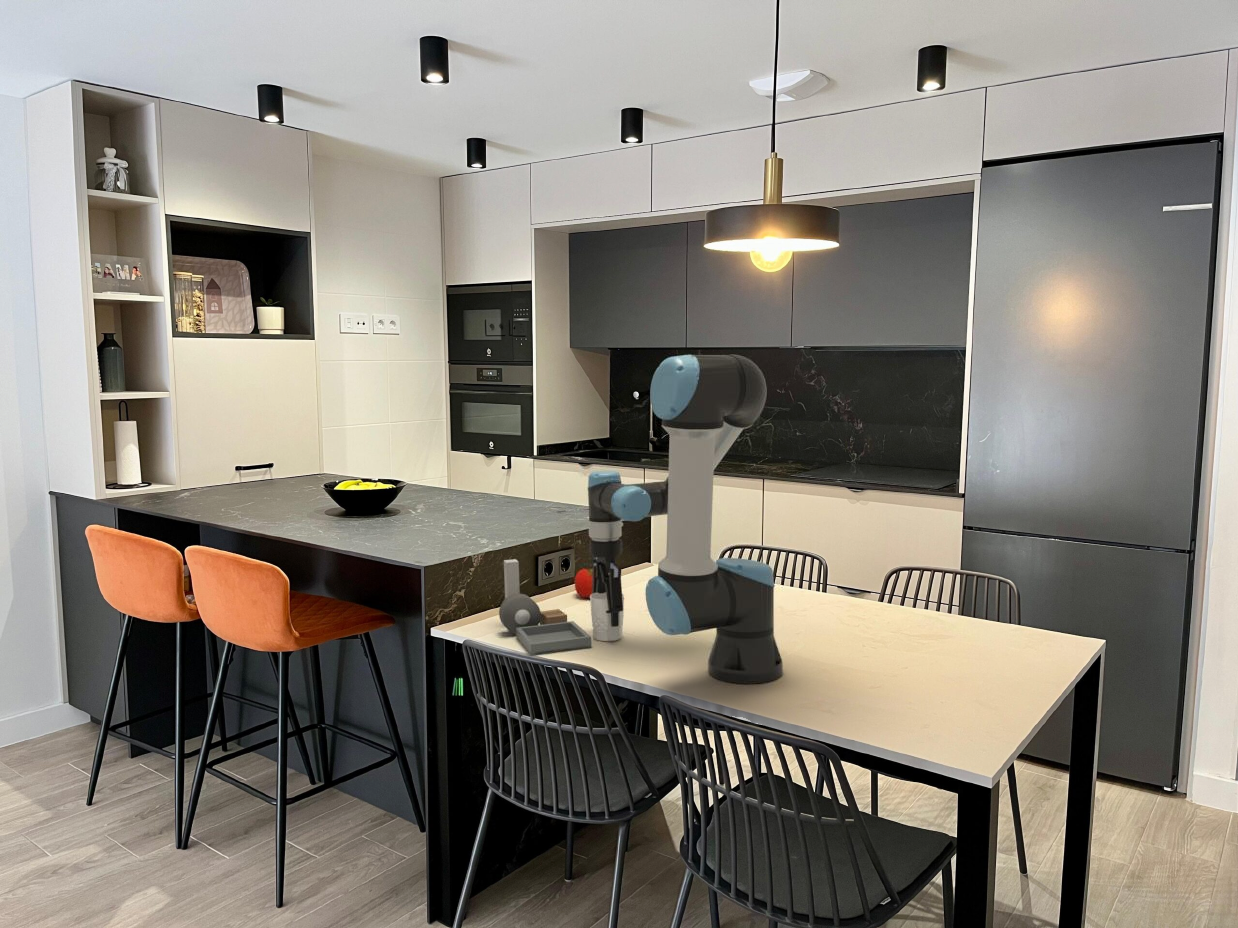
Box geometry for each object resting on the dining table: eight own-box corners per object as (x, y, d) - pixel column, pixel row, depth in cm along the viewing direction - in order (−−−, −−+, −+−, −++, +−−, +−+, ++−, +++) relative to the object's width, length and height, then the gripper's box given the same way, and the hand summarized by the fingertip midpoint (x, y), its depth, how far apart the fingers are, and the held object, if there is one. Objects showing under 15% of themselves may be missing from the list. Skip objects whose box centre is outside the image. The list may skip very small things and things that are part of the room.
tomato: (620, 594, 252) (619, 567, 251) (598, 603, 243) (598, 575, 242) (588, 589, 258) (588, 563, 257) (566, 598, 248) (565, 571, 248)
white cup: (626, 632, 215) (625, 591, 214) (623, 642, 207) (622, 599, 206) (593, 632, 216) (592, 591, 215) (589, 642, 208) (587, 599, 207)
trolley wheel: (541, 633, 216) (539, 567, 214) (504, 637, 213) (502, 571, 211) (529, 620, 227) (527, 558, 225) (494, 625, 224) (491, 561, 222)
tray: (591, 647, 204) (591, 636, 204) (531, 655, 199) (530, 644, 199) (573, 631, 217) (573, 620, 217) (516, 638, 212) (515, 627, 212)
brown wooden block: (567, 630, 218) (567, 614, 218) (547, 633, 216) (547, 617, 216) (558, 624, 224) (558, 608, 223) (539, 627, 222) (539, 611, 221)
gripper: (636, 544, 201) (638, 644, 203) (606, 529, 220) (608, 621, 222) (604, 547, 198) (607, 648, 201) (577, 532, 217) (579, 624, 220)
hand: (607, 634), depth 212 cm, fingers closed on white cup, 8 cm apart
